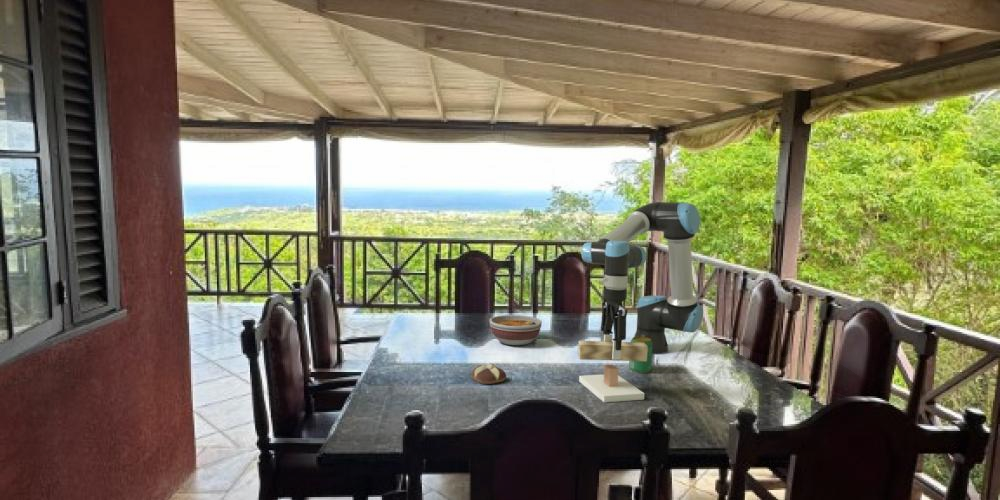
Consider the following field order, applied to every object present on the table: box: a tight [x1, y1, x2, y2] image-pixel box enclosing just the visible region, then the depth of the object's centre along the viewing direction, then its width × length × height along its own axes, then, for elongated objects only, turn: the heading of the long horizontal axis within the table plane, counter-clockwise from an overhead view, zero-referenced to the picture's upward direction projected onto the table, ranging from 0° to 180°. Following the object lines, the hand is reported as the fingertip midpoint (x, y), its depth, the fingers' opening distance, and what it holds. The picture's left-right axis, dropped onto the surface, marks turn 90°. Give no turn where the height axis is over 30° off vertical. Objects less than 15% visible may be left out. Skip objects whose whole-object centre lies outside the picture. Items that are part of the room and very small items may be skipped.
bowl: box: [489, 314, 543, 346], centre depth 240 cm, size 23×23×10 cm
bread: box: [471, 363, 507, 385], centre depth 190 cm, size 11×11×5 cm
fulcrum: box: [578, 364, 645, 403], centre depth 183 cm, size 14×20×8 cm
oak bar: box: [577, 340, 648, 362], centre depth 182 cm, size 22×5×5 cm, turn 89°
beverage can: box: [628, 336, 653, 374], centre depth 206 cm, size 8×8×12 cm
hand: (611, 356), depth 182 cm, fingers closed on oak bar, 6 cm apart
